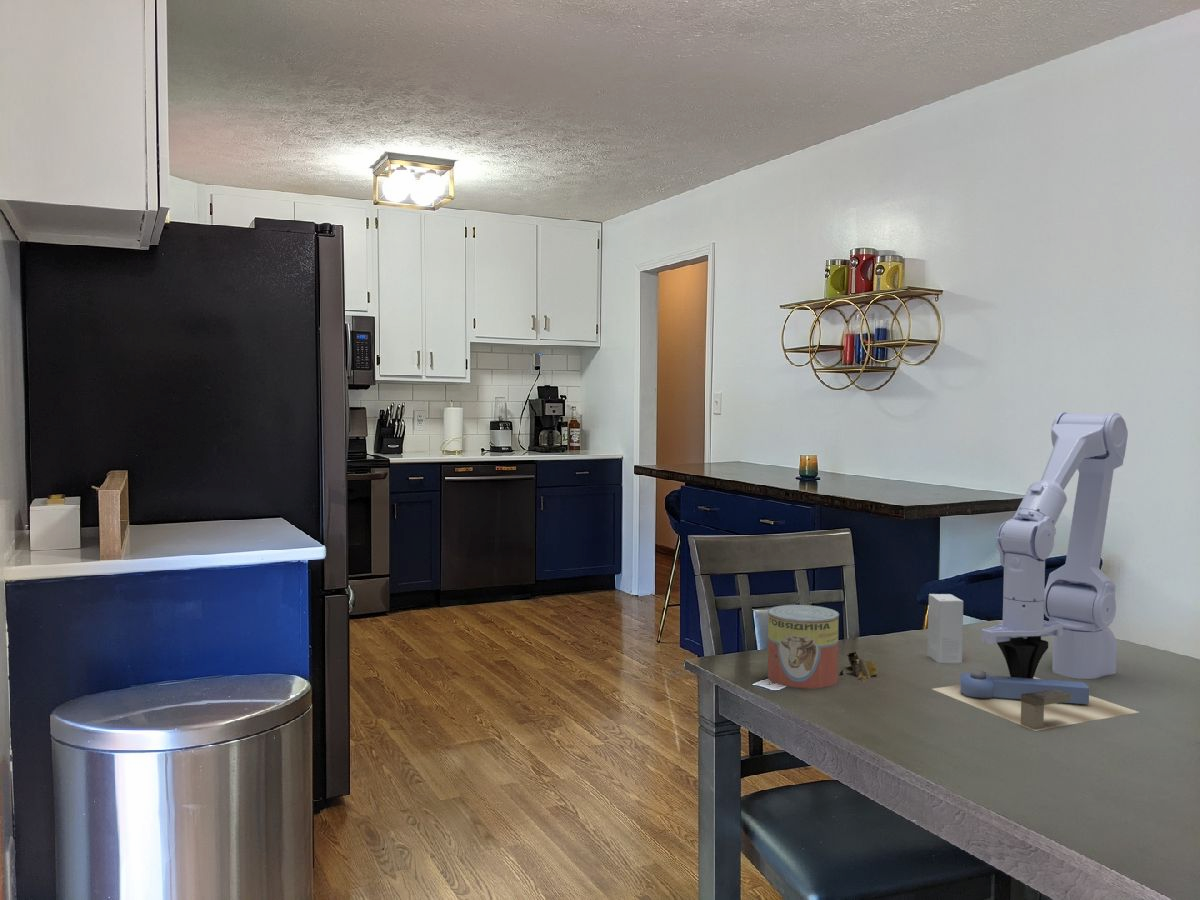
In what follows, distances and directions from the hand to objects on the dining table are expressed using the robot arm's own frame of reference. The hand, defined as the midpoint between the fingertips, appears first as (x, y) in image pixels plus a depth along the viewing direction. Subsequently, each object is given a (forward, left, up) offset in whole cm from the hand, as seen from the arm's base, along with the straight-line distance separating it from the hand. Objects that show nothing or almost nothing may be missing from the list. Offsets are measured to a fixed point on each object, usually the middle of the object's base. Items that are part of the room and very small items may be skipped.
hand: (1021, 685), depth 143 cm
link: (+2, +2, -1) cm, 3 cm away
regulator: (+18, -16, -3) cm, 24 cm away
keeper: (+8, +12, -2) cm, 15 cm away
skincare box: (-3, -19, -2) cm, 20 cm away
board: (+2, +4, -2) cm, 4 cm away
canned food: (+27, -19, -2) cm, 33 cm away
